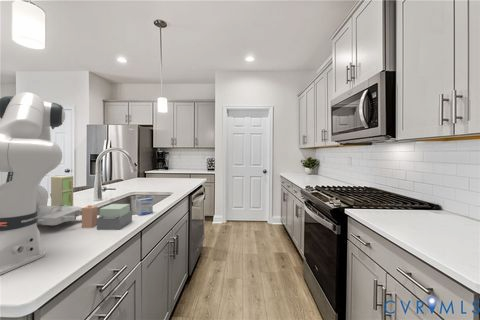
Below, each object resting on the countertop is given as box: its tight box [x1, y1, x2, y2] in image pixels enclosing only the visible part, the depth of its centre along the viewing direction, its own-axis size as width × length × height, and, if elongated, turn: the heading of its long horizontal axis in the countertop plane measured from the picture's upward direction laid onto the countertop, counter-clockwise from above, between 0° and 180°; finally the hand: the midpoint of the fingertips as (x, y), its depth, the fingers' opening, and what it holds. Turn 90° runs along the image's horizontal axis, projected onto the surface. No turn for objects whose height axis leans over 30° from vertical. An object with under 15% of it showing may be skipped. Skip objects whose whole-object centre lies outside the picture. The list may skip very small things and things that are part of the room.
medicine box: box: [135, 197, 154, 217], centre depth 140 cm, size 8×4×9 cm, turn 143°
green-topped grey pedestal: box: [96, 203, 133, 231], centre depth 117 cm, size 14×10×9 cm
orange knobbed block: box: [81, 204, 98, 229], centre depth 115 cm, size 4×4×10 cm
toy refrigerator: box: [50, 175, 74, 206], centre depth 136 cm, size 8×7×21 cm
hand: (81, 215), depth 115 cm, fingers open, 8 cm apart
